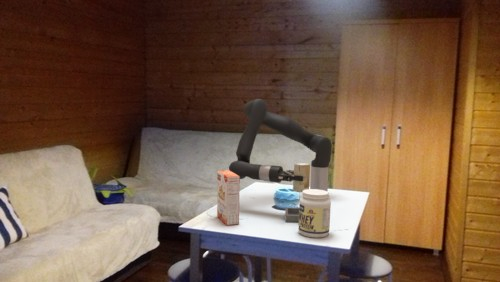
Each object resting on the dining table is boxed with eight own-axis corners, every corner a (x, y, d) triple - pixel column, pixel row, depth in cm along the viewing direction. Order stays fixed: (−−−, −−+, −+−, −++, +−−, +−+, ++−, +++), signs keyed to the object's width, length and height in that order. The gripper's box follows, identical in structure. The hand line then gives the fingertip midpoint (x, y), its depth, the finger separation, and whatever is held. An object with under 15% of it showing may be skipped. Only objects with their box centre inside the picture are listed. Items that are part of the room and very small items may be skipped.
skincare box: (299, 193, 186) (300, 165, 184) (292, 191, 189) (293, 163, 188) (309, 191, 190) (310, 163, 189) (302, 189, 193) (303, 162, 192)
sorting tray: (285, 213, 198) (285, 207, 198) (313, 215, 197) (314, 208, 197) (285, 222, 185) (285, 215, 185) (316, 223, 184) (316, 216, 184)
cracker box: (216, 216, 191) (216, 170, 188) (229, 215, 193) (230, 169, 191) (225, 226, 178) (226, 176, 175) (239, 224, 180) (240, 175, 178)
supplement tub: (292, 232, 171) (293, 191, 169) (310, 226, 179) (312, 187, 178) (316, 240, 162) (318, 196, 160) (335, 234, 171) (337, 192, 169)
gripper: (265, 167, 188) (301, 171, 181) (277, 163, 201) (311, 166, 194) (264, 184, 189) (300, 188, 182) (276, 179, 202) (310, 182, 195)
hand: (305, 177), depth 188 cm, fingers closed on skincare box, 7 cm apart
